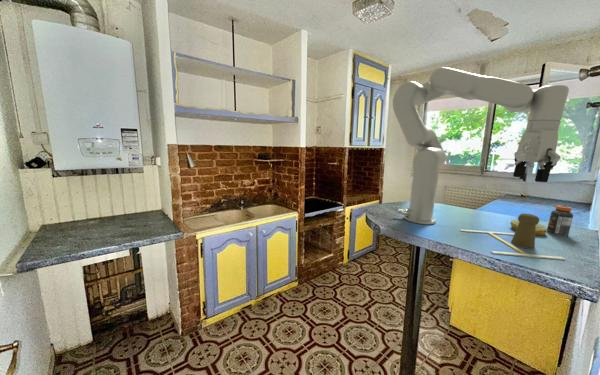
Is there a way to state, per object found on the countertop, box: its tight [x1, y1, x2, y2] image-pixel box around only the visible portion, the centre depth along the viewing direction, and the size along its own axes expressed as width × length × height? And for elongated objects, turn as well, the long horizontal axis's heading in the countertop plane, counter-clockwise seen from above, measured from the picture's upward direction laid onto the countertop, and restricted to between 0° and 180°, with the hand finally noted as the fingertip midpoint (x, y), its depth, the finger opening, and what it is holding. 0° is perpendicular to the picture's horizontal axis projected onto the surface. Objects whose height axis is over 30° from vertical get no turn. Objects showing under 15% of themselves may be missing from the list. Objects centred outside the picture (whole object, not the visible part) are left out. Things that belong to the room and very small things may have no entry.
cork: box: [510, 212, 540, 250], centre depth 82 cm, size 6×6×11 cm
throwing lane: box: [459, 228, 566, 261], centre depth 84 cm, size 20×20×1 cm
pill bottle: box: [546, 204, 574, 237], centre depth 94 cm, size 6×6×11 cm
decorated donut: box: [510, 219, 548, 237], centre depth 97 cm, size 10×11×4 cm
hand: (528, 179), depth 81 cm, fingers open, 9 cm apart
